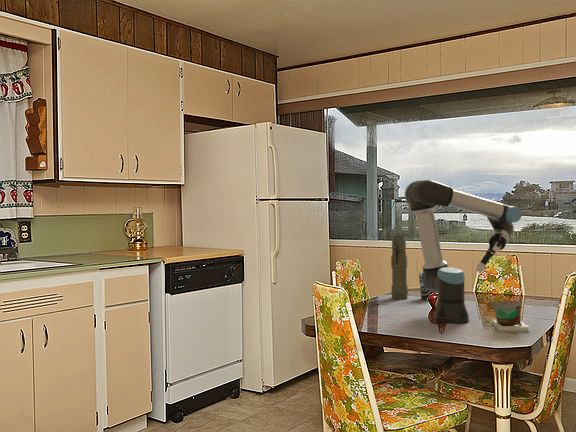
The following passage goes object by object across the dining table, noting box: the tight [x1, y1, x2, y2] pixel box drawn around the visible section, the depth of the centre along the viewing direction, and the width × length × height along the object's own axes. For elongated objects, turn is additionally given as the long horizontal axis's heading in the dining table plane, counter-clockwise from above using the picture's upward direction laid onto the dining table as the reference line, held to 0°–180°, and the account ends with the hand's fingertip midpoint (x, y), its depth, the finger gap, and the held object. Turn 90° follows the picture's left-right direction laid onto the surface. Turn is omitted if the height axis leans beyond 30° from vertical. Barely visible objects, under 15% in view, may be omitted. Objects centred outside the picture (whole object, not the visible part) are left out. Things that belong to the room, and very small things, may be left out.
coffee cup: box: [418, 270, 435, 301], centre depth 325 cm, size 10×10×15 cm
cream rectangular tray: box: [490, 319, 530, 333], centre depth 249 cm, size 12×16×2 cm
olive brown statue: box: [390, 235, 409, 301], centre depth 328 cm, size 9×12×35 cm
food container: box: [491, 299, 522, 326], centre depth 249 cm, size 12×6×10 cm, turn 51°
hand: (486, 261), depth 262 cm, fingers open, 13 cm apart
